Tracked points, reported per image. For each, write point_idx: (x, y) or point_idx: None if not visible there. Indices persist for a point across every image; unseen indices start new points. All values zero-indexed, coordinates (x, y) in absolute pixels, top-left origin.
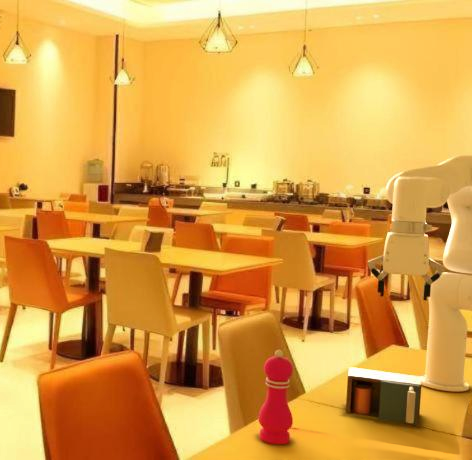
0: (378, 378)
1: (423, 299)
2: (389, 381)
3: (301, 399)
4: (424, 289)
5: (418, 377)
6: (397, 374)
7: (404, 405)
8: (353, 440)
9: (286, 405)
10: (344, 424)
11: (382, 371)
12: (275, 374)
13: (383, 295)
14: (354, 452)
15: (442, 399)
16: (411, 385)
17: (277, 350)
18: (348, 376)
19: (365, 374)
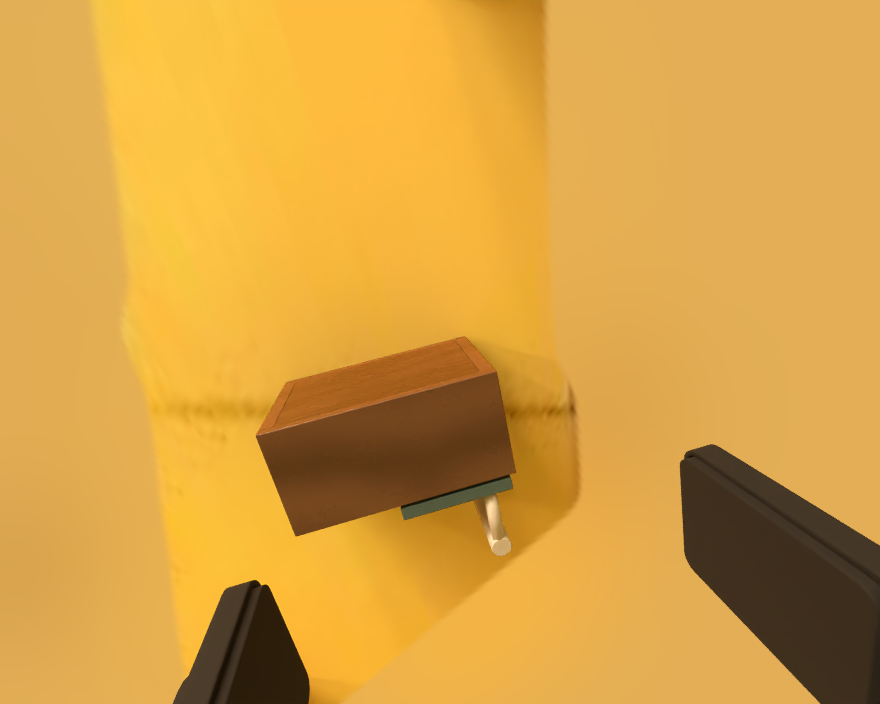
0: (389, 501)
1: (688, 562)
2: (426, 504)
3: (153, 416)
4: (791, 667)
5: (493, 393)
6: (425, 407)
7: None
8: (390, 593)
9: None
10: None
11: (371, 405)
12: None
13: (306, 684)
14: (412, 643)
15: (493, 89)
16: (490, 495)
17: None
18: (298, 533)
19: (338, 487)
